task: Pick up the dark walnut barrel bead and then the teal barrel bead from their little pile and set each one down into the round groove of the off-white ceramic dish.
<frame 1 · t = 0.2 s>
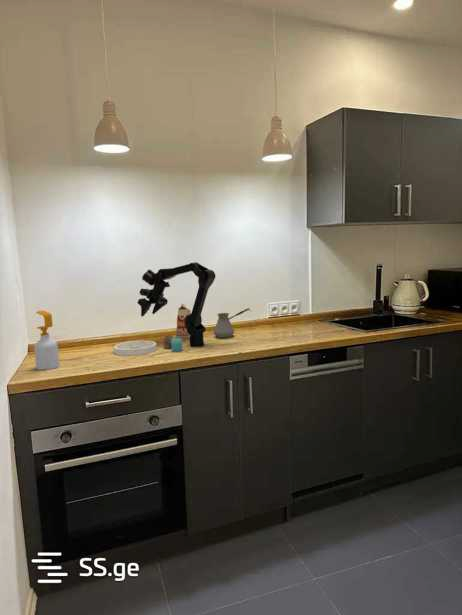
hand: (147, 315, 216), 15 cm above the counter, tool tilted 30°, fingers open, 9 cm apart
soap bottle: (48, 367, 174), on the counter
dish: (135, 350, 199), on the counter
coffee pot: (232, 336, 224), on the counter
walnut bead: (169, 347, 202), on the counter
red figurine: (185, 339, 220), on the counter
teal bead: (177, 350, 195), on the counter
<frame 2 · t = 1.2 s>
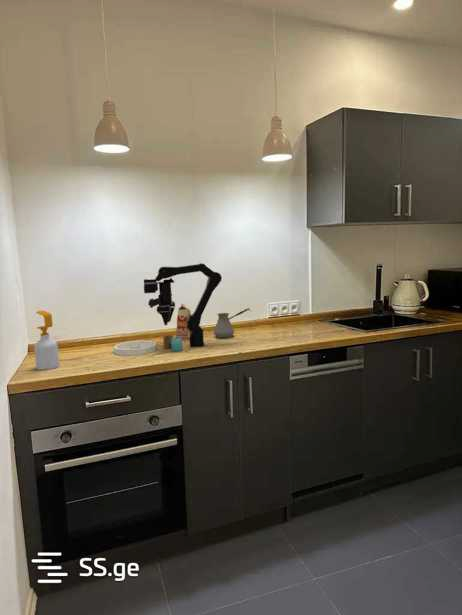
hand: (167, 323, 200), 12 cm above the counter, tool pointing down, fingers open, 9 cm apart
nothing on the counter moved.
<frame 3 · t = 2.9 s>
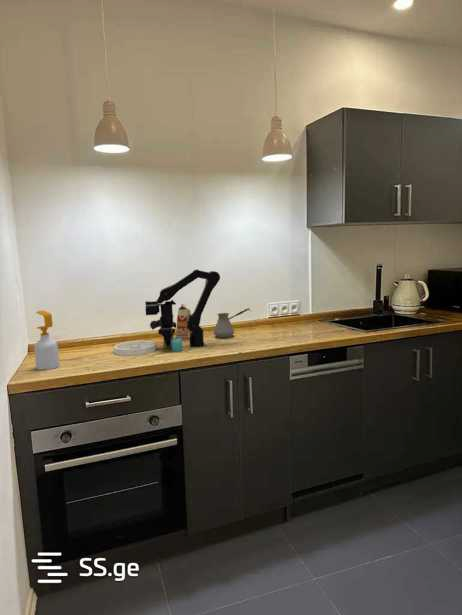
hand: (168, 344, 201), 2 cm above the counter, tool pointing down, fingers closed on walnut bead, 5 cm apart
walnut bead: (169, 347, 202), on the counter, touching gripper
everything else where it was.
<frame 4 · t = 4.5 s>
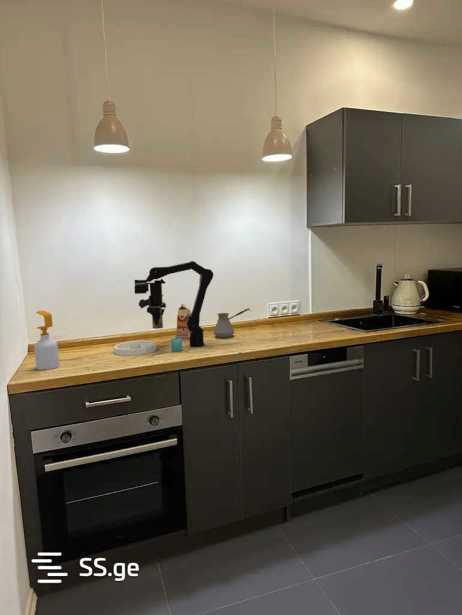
hand: (157, 324, 199), 12 cm above the counter, tool pointing down, fingers closed on walnut bead, 5 cm apart
walnut bead: (157, 327, 199), point 11 cm above the counter, touching gripper
everything else where it was.
when the fingers open (4 cm above the counter, at t = 6.6 s): walnut bead drops 1 cm, resting on dish.
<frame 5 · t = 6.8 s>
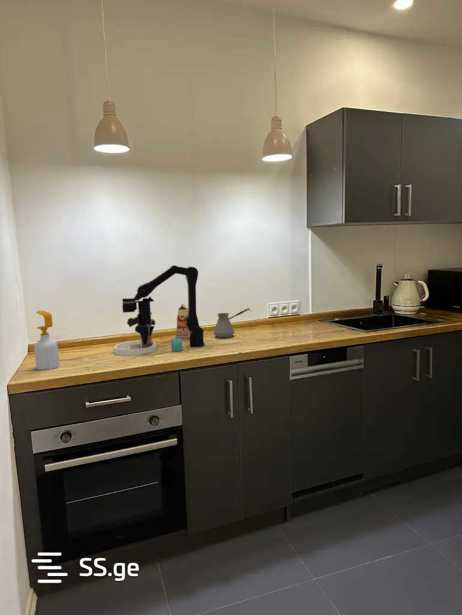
hand: (146, 342, 198), 4 cm above the counter, tool pointing down, fingers open, 7 cm apart
walnut bead: (147, 348, 199), point 1 cm above the counter, touching dish
everything else where it was.
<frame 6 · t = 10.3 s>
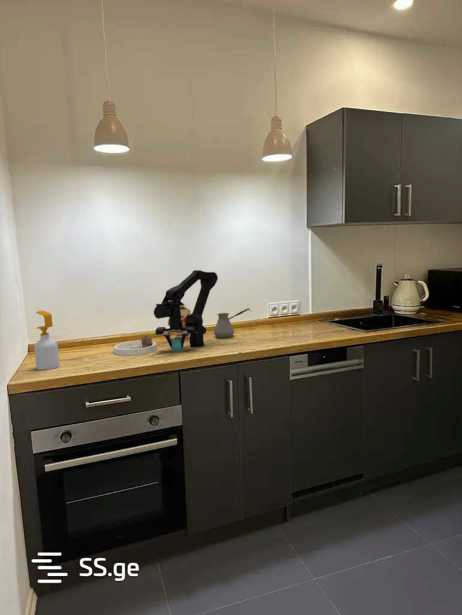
hand: (176, 347, 194), 2 cm above the counter, tool pointing down, fingers closed on teal bead, 5 cm apart
teal bead: (177, 350, 195), on the counter, touching gripper
everything else where it was.
when the fingers open (4 cm above the counter, at t = 14.8 s): teal bead drops 1 cm, resting on dish.
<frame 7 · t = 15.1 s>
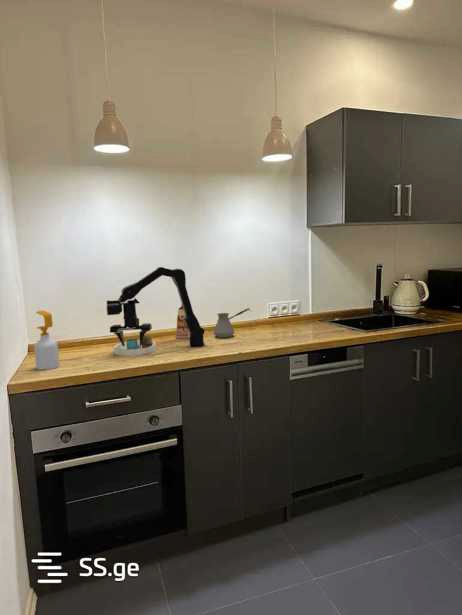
hand: (132, 345, 193), 4 cm above the counter, tool pointing down, fingers open, 8 cm apart
teal bead: (132, 351, 193), point 1 cm above the counter, touching dish
everything else where it was.
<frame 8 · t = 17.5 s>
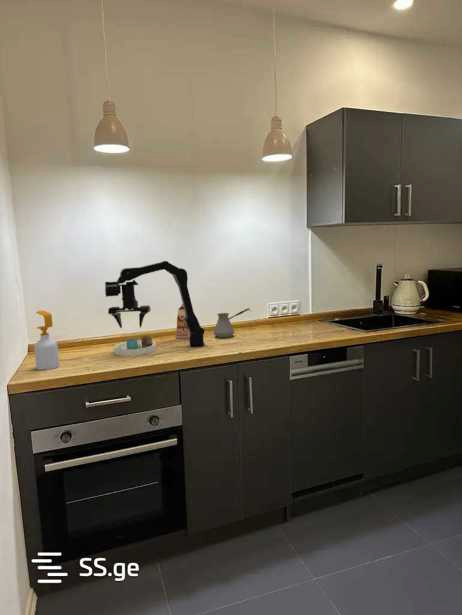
hand: (130, 327, 191), 12 cm above the counter, tool pointing down, fingers open, 9 cm apart
nothing on the counter moved.
at the end: walnut bead inside the target area on the dish (5.7 cm from its centre), point 0.8 cm above the dish's base; teal bead inside the target area on the dish (5.8 cm from its centre), point 0.8 cm above the dish's base; red figurine moved 0.2 cm from its start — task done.
